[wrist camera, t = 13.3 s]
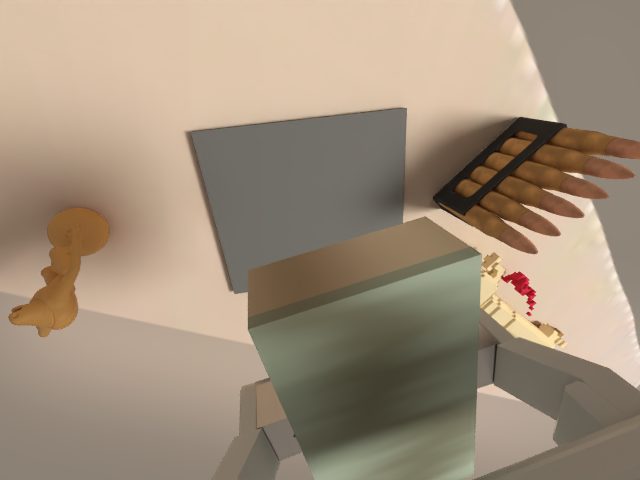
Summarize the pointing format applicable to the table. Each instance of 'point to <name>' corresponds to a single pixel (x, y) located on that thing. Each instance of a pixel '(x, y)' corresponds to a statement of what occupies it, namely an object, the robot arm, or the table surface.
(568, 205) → the ammunition clip
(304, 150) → the rubber mat
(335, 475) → the pale green streaked tile
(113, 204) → the table surface
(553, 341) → the cat figure
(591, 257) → the table surface
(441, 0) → the table surface
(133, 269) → the table surface
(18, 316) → the figurine
